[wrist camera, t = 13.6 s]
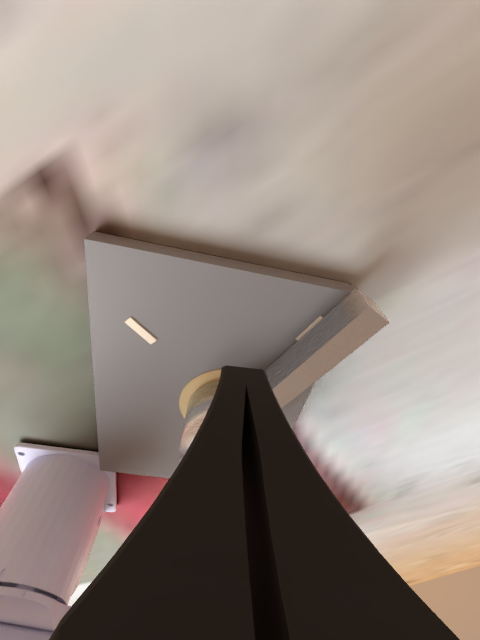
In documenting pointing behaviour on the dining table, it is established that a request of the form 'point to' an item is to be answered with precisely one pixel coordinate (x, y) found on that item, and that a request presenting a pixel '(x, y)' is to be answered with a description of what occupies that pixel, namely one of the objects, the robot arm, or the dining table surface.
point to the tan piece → (302, 358)
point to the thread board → (183, 338)
